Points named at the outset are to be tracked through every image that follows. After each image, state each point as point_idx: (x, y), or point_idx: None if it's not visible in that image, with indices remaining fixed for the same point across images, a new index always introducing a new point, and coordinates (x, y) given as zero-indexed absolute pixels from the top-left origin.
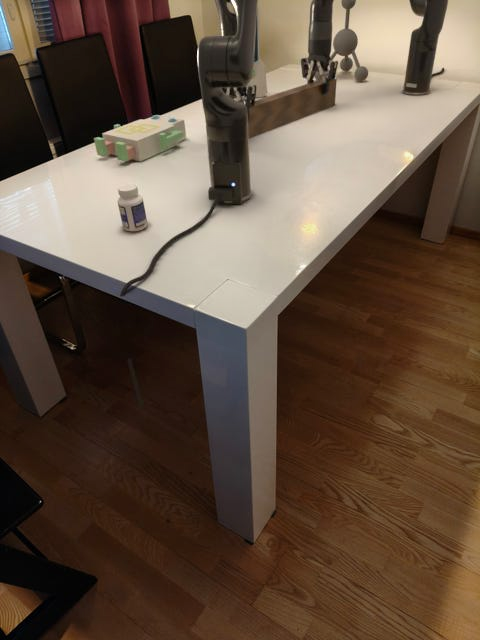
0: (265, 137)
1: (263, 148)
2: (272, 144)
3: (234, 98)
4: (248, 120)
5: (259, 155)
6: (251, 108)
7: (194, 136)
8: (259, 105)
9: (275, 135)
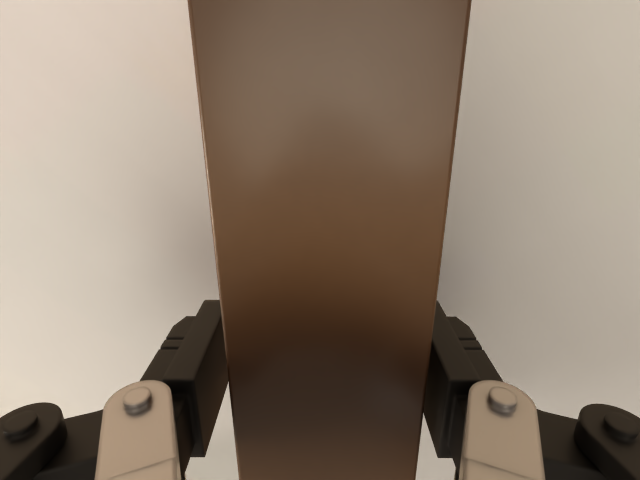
0: (476, 124)
1: (589, 302)
2: (609, 214)
3: (178, 463)
4: (437, 304)
5: (625, 390)
6: (436, 264)
7: (57, 384)
8: (458, 73)
9: (525, 28)
